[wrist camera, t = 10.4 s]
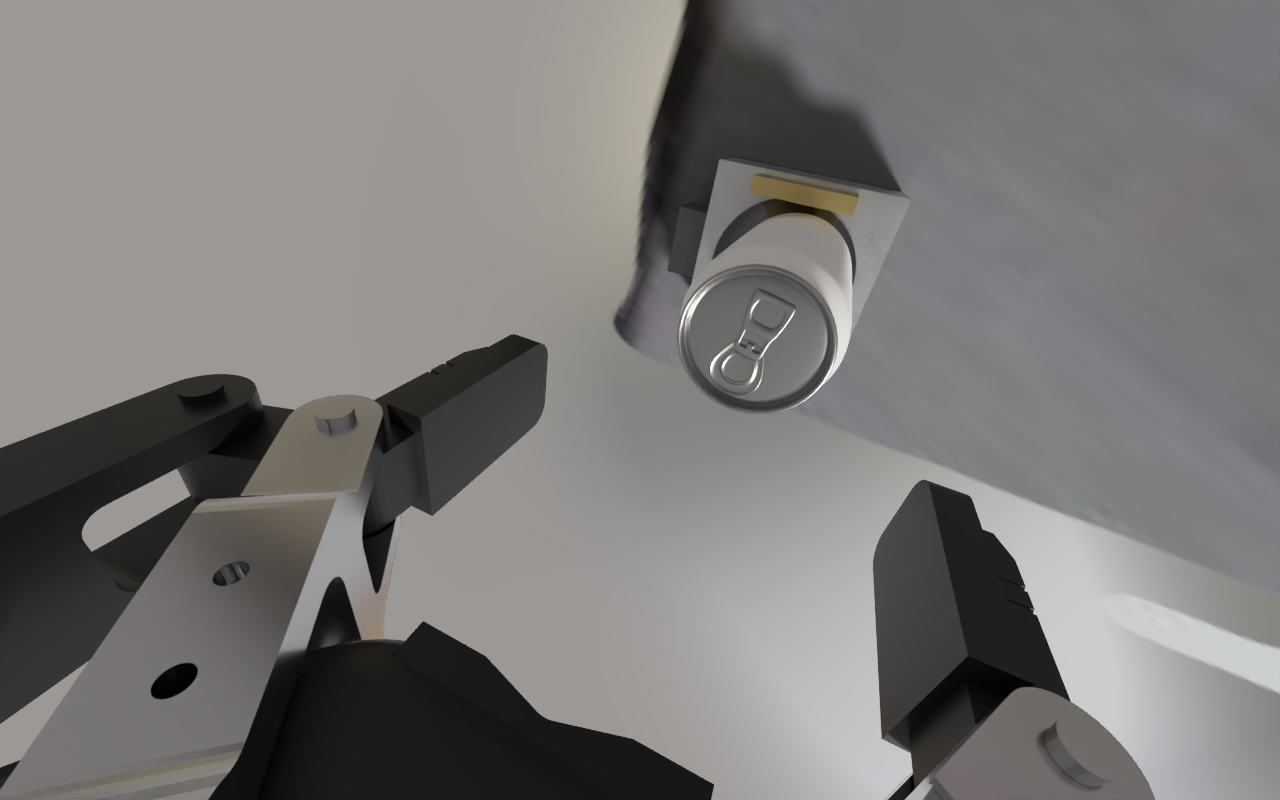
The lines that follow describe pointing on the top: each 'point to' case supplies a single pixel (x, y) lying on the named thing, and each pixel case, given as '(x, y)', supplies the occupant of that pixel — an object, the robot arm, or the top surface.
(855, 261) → the motor housing
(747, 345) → the can
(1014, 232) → the top surface
